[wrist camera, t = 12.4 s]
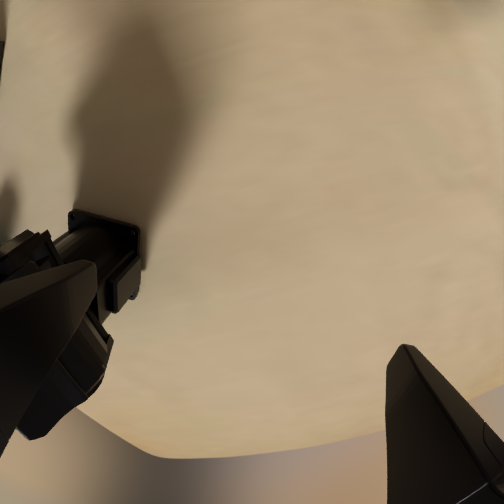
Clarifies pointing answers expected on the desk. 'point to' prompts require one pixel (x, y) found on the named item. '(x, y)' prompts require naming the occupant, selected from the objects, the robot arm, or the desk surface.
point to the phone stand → (1, 50)
